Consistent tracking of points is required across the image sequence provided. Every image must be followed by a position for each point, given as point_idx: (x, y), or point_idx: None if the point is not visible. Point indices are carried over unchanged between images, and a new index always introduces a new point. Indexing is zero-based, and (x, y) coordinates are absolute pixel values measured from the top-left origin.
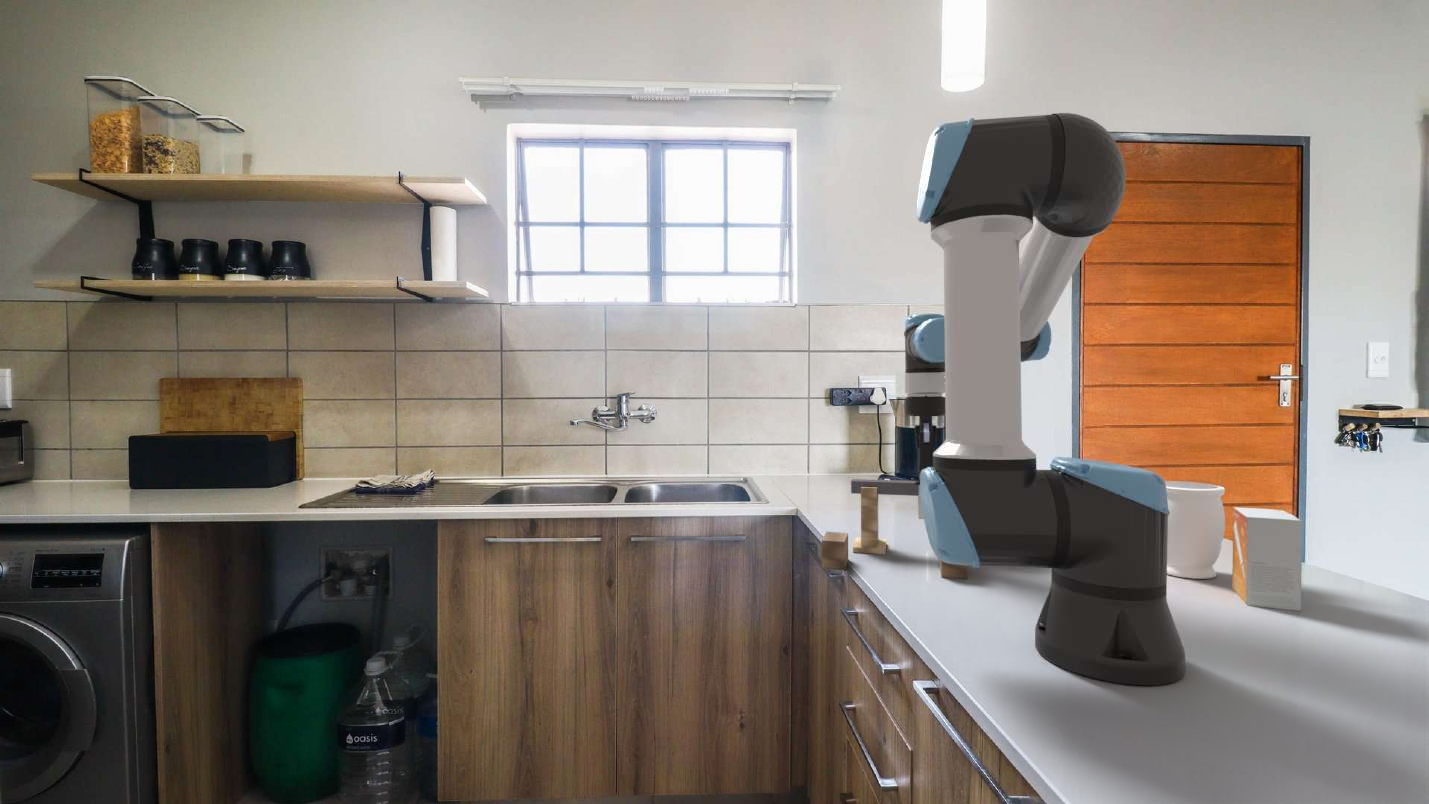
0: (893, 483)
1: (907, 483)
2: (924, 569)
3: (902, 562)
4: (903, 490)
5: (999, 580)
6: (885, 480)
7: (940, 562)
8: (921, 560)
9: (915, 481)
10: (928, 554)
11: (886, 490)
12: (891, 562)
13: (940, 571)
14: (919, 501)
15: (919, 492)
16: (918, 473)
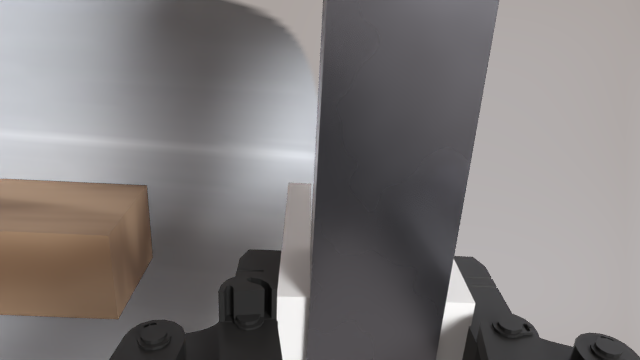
0: (321, 93)
1: (316, 218)
2: (79, 130)
3: (152, 52)
4: (315, 161)
5: (42, 332)
6: (466, 14)
7: (51, 195)
8: (205, 128)
9: (419, 286)
10: (304, 161)
11: (323, 14)
12: (137, 5)
13: (68, 182)
14: (283, 233)
15: (281, 267)
16: (589, 350)
